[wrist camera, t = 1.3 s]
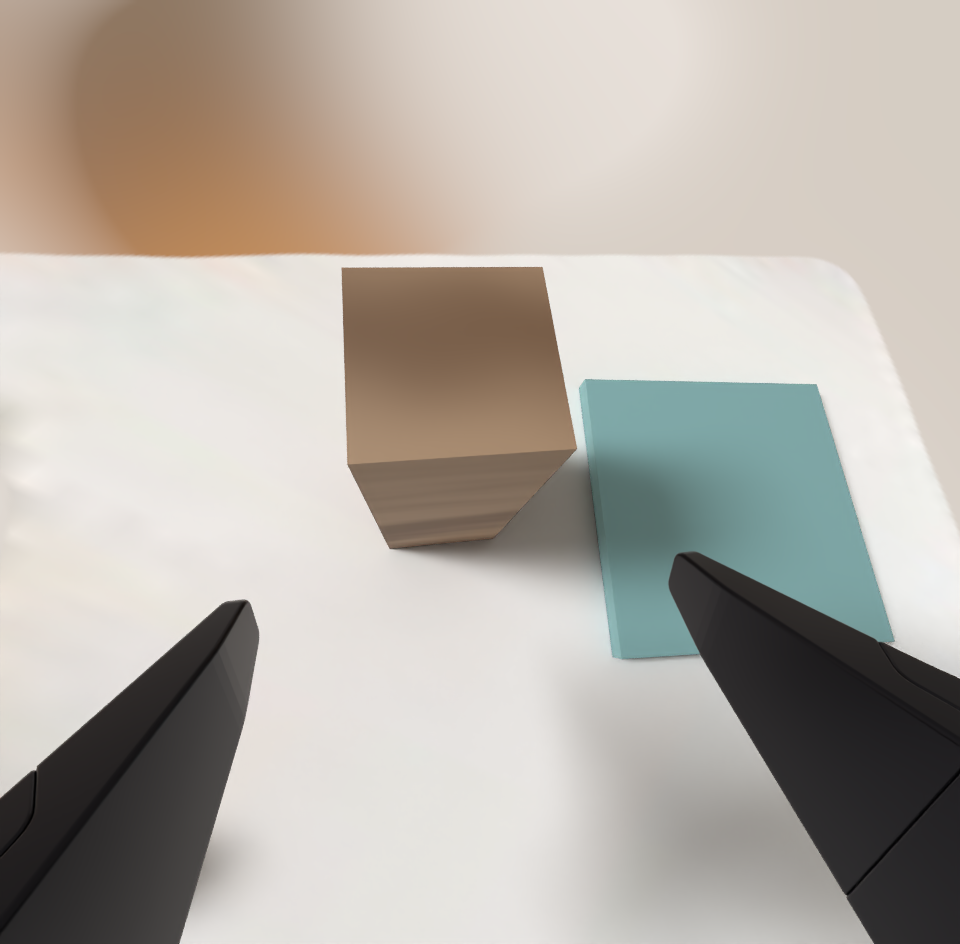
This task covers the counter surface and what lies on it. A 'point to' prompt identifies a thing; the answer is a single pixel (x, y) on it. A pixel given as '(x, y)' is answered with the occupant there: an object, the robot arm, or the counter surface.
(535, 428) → the walnut pillar
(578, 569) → the counter surface
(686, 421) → the teal board
